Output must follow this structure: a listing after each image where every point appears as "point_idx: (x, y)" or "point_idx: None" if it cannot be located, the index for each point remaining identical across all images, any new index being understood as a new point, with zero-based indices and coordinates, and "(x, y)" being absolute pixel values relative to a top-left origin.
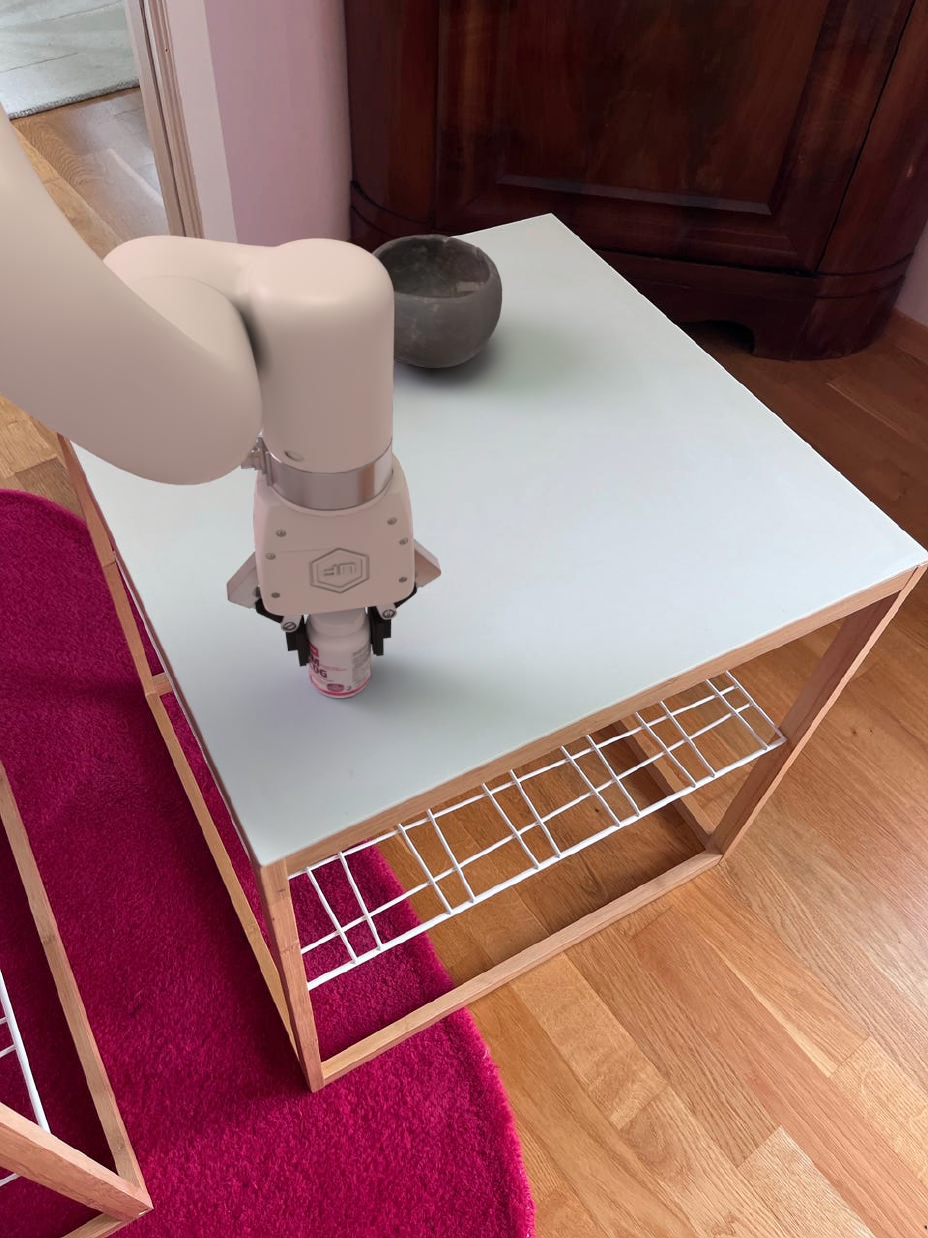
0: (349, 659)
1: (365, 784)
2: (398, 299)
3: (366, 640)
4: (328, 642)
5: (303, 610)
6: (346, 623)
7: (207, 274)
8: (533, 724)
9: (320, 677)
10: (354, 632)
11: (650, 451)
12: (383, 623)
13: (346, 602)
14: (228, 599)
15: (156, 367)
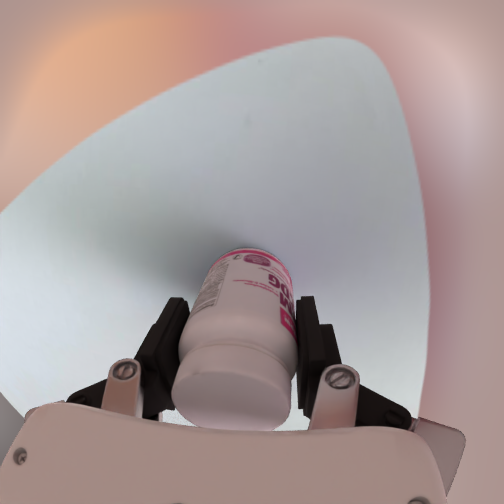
0: (222, 295)
1: (228, 101)
2: None
3: (186, 326)
4: (257, 333)
5: (324, 451)
6: (208, 372)
7: None
8: (39, 187)
9: (279, 277)
10: (200, 346)
11: (36, 404)
12: (139, 353)
13: (174, 457)
14: (462, 434)
15: None
